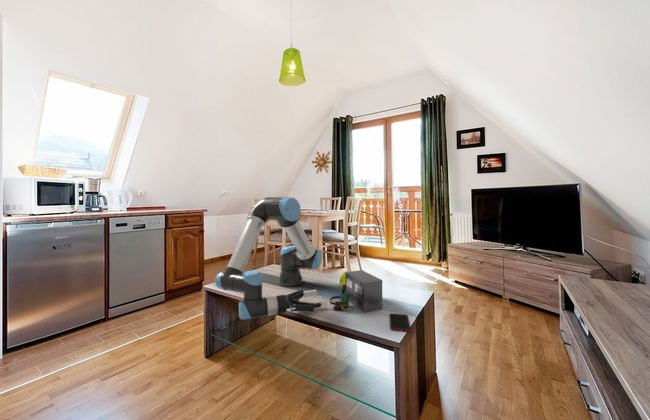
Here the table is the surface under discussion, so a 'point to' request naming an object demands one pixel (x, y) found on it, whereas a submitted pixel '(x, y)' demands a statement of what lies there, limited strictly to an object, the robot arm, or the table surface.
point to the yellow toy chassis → (342, 279)
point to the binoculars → (343, 301)
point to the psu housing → (364, 290)
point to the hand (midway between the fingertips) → (321, 297)
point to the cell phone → (399, 322)
